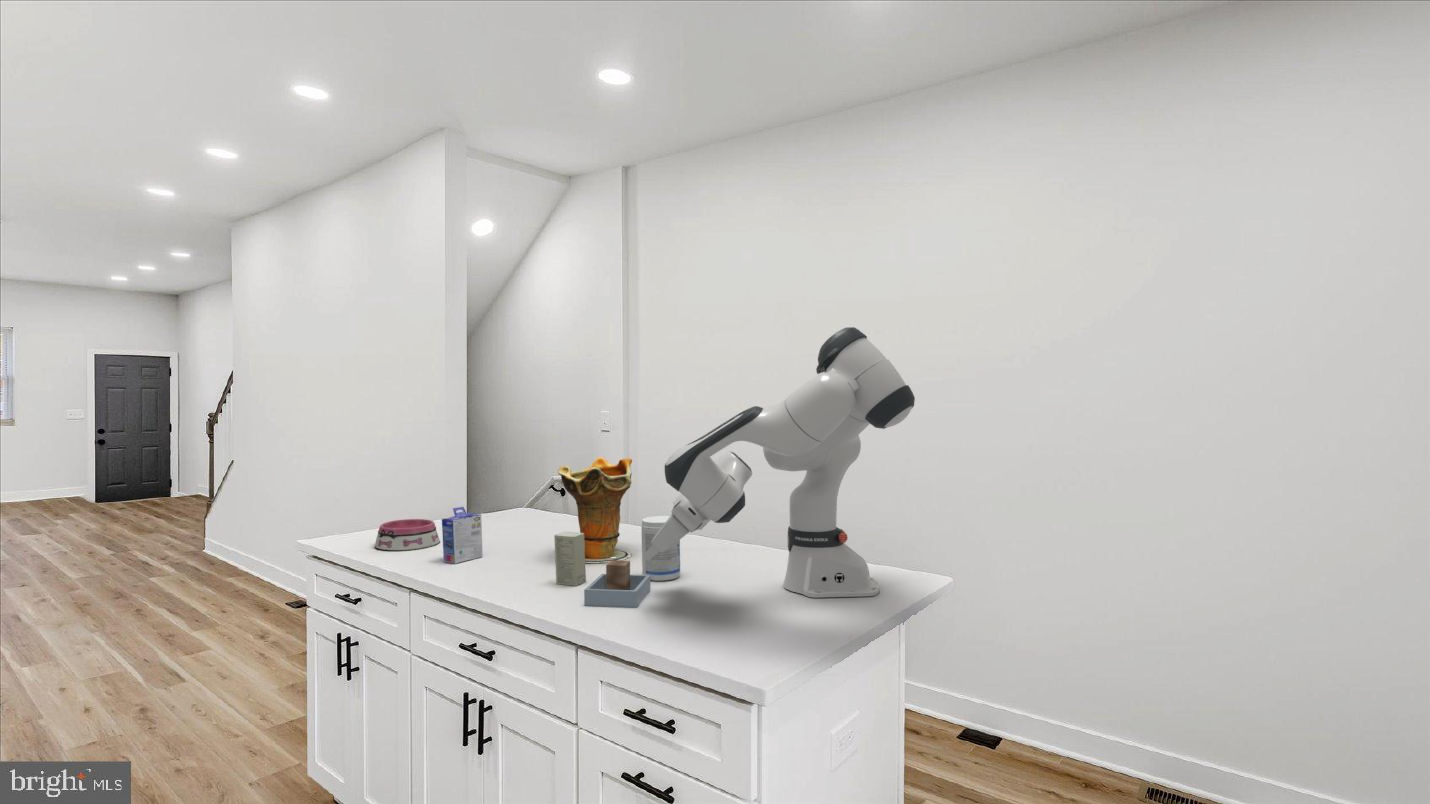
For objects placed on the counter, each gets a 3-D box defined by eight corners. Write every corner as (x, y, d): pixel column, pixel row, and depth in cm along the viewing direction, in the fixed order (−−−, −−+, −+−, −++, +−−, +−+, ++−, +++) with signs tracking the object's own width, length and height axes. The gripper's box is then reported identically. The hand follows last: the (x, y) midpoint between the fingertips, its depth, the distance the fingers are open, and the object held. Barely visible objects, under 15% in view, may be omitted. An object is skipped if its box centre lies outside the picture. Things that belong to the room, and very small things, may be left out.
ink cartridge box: (470, 554, 211) (470, 504, 211) (483, 557, 208) (483, 506, 208) (441, 561, 203) (440, 509, 202) (454, 564, 200) (453, 511, 199)
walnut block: (630, 595, 170) (630, 560, 170) (625, 600, 165) (625, 565, 165) (611, 594, 170) (611, 560, 170) (606, 600, 166) (606, 564, 166)
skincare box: (586, 582, 181) (585, 533, 181) (575, 586, 177) (575, 536, 177) (565, 579, 184) (564, 531, 183) (554, 583, 180) (553, 534, 179)
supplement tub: (687, 578, 184) (686, 519, 184) (653, 584, 179) (653, 524, 178) (668, 569, 192) (667, 513, 192) (635, 575, 187) (634, 517, 186)
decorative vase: (543, 562, 199) (545, 459, 200) (583, 548, 221) (584, 455, 222) (614, 568, 193) (615, 461, 194) (647, 552, 215) (648, 457, 216)
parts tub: (650, 589, 174) (650, 575, 174) (636, 607, 160) (636, 591, 160) (602, 588, 176) (601, 573, 175) (584, 605, 162) (584, 589, 162)
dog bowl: (453, 541, 229) (452, 519, 229) (405, 554, 213) (405, 531, 212) (409, 537, 237) (409, 515, 237) (360, 549, 220) (360, 526, 220)
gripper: (689, 493, 175) (650, 533, 177) (674, 507, 155) (629, 553, 156) (708, 512, 175) (668, 552, 176) (695, 529, 154) (650, 574, 156)
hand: (650, 553), depth 166 cm, fingers open, 8 cm apart
